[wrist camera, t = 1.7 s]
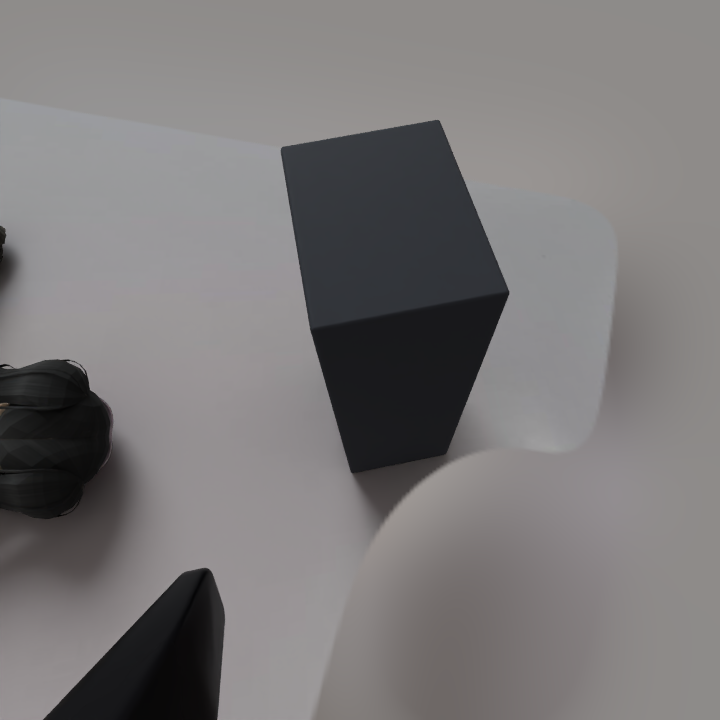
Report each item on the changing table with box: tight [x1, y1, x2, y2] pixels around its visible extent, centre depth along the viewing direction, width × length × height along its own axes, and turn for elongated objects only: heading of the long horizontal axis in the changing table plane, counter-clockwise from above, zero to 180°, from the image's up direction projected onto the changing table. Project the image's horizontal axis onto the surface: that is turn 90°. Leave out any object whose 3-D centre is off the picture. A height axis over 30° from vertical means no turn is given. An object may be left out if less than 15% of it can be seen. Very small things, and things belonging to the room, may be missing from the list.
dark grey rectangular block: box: [281, 120, 509, 473], centre depth 18 cm, size 6×4×13 cm
